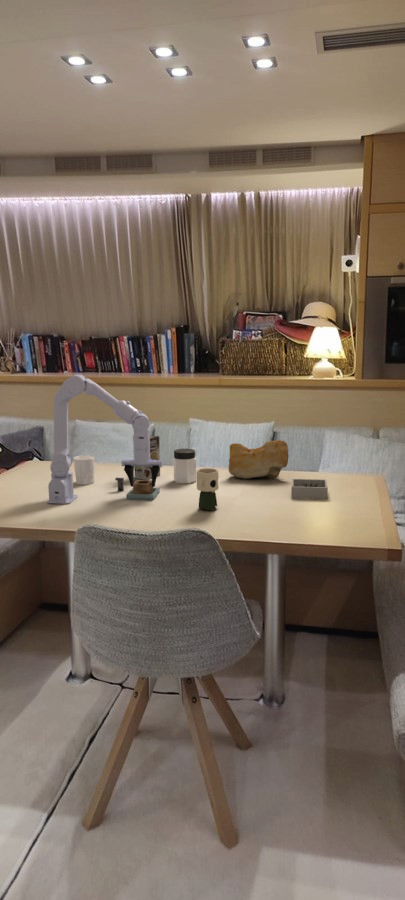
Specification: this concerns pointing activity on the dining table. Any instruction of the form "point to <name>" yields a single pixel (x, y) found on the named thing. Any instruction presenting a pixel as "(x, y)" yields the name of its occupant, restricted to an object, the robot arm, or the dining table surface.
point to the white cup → (84, 469)
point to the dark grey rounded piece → (120, 484)
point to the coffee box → (145, 471)
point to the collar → (143, 487)
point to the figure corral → (309, 489)
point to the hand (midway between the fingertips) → (143, 486)
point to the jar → (184, 466)
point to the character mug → (207, 488)
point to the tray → (143, 495)
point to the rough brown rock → (258, 460)
